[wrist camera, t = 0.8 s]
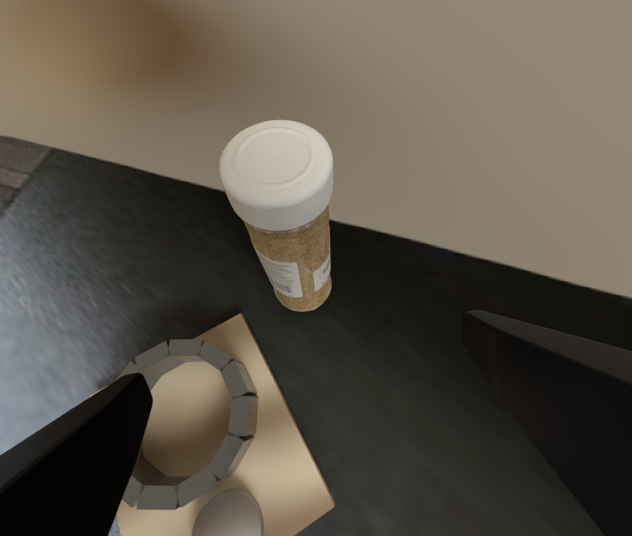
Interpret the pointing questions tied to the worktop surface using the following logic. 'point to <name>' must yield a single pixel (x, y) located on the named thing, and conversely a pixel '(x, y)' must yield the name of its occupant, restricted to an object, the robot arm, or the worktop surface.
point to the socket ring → (178, 491)
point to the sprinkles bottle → (284, 205)
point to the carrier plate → (207, 436)
